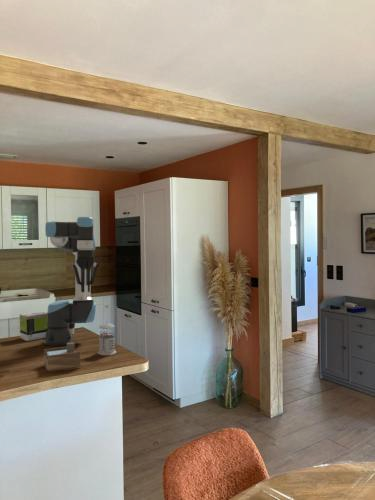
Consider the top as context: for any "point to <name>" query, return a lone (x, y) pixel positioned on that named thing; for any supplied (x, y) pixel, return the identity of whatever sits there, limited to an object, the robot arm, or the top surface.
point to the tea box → (33, 325)
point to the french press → (106, 340)
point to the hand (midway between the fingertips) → (85, 298)
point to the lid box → (61, 360)
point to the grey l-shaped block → (69, 350)
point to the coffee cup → (71, 328)
